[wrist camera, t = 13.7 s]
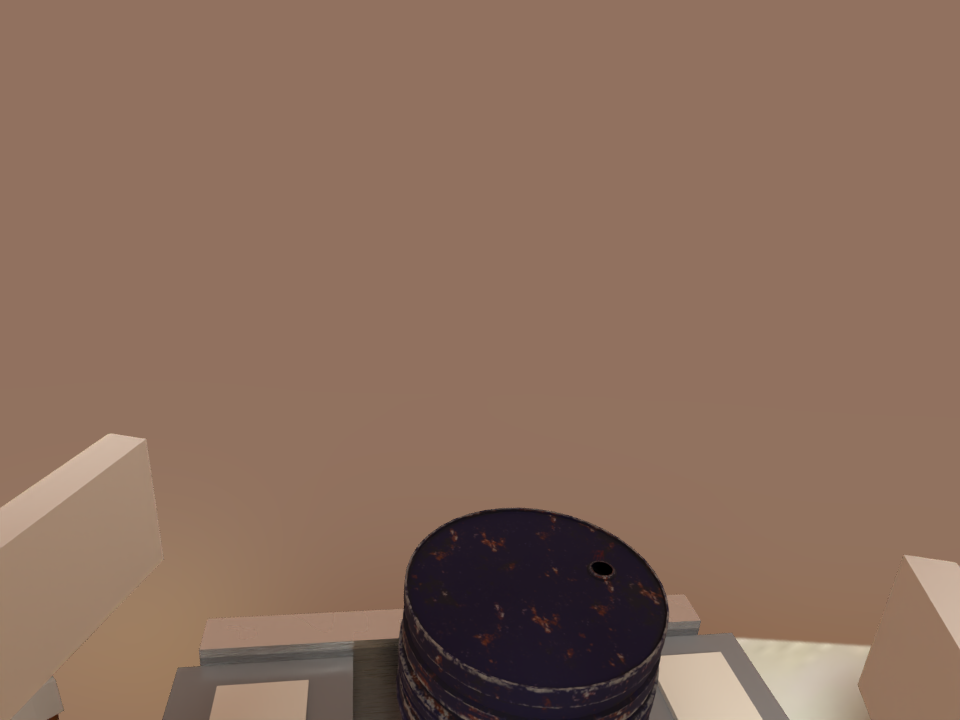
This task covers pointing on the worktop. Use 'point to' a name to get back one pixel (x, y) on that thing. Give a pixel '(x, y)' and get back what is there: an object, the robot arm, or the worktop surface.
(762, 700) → the module block
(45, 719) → the food container
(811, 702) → the worktop surface
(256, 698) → the block
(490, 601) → the rusty oil drum
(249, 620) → the rail
